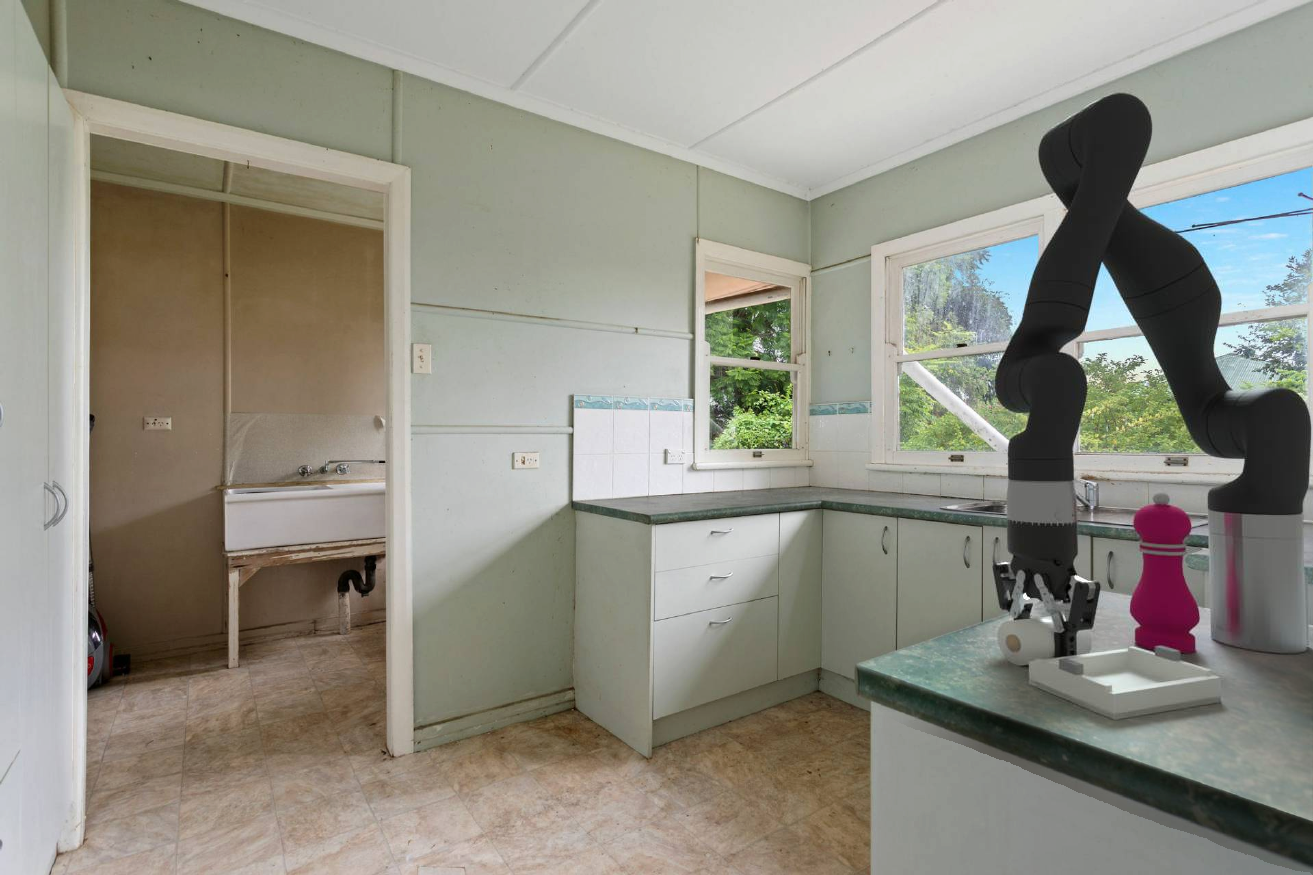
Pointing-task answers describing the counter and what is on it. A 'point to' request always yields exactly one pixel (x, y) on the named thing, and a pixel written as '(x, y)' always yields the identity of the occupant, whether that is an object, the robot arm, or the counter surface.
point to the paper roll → (1034, 640)
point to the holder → (1127, 681)
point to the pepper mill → (1163, 579)
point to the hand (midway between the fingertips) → (1044, 654)
